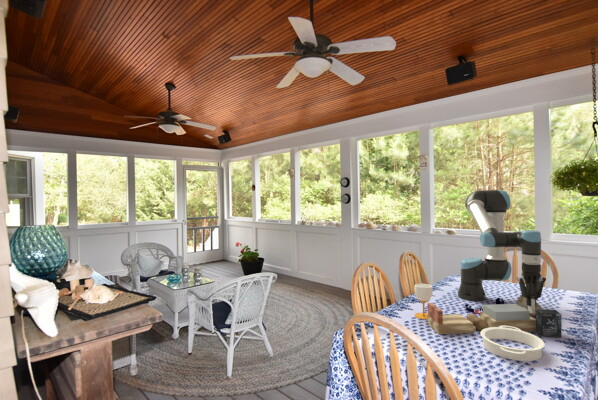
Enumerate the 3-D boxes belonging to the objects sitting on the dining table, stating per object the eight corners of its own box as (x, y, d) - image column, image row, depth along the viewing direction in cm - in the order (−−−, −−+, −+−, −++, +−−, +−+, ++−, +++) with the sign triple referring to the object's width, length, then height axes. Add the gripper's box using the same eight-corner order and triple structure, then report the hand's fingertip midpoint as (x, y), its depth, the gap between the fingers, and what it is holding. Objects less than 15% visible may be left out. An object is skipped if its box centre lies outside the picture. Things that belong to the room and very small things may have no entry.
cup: (432, 314, 179) (432, 284, 179) (433, 320, 171) (433, 288, 170) (414, 312, 182) (414, 282, 182) (414, 318, 174) (414, 287, 173)
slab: (483, 312, 166) (483, 304, 166) (515, 311, 167) (515, 303, 166) (495, 320, 156) (495, 311, 156) (529, 319, 157) (529, 310, 156)
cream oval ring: (550, 372, 121) (550, 359, 121) (479, 358, 132) (479, 346, 132) (540, 341, 146) (540, 330, 146) (481, 331, 157) (481, 321, 157)
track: (427, 323, 166) (427, 302, 166) (519, 321, 168) (519, 300, 168) (438, 334, 154) (438, 311, 154) (537, 331, 156) (537, 308, 156)
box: (541, 336, 150) (541, 312, 150) (535, 331, 155) (535, 308, 155) (562, 338, 148) (562, 313, 148) (555, 332, 154) (555, 309, 153)
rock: (530, 323, 171) (545, 310, 168) (509, 305, 177) (524, 292, 174) (530, 320, 179) (545, 307, 176) (510, 302, 184) (524, 290, 181)
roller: (464, 321, 166) (469, 312, 166) (473, 325, 166) (478, 316, 166) (476, 329, 156) (481, 319, 156) (485, 334, 156) (490, 324, 156)
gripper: (523, 265, 157) (523, 315, 158) (550, 264, 158) (550, 314, 158) (512, 261, 165) (512, 310, 165) (538, 261, 165) (538, 309, 166)
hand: (531, 312), depth 162 cm, fingers closed
